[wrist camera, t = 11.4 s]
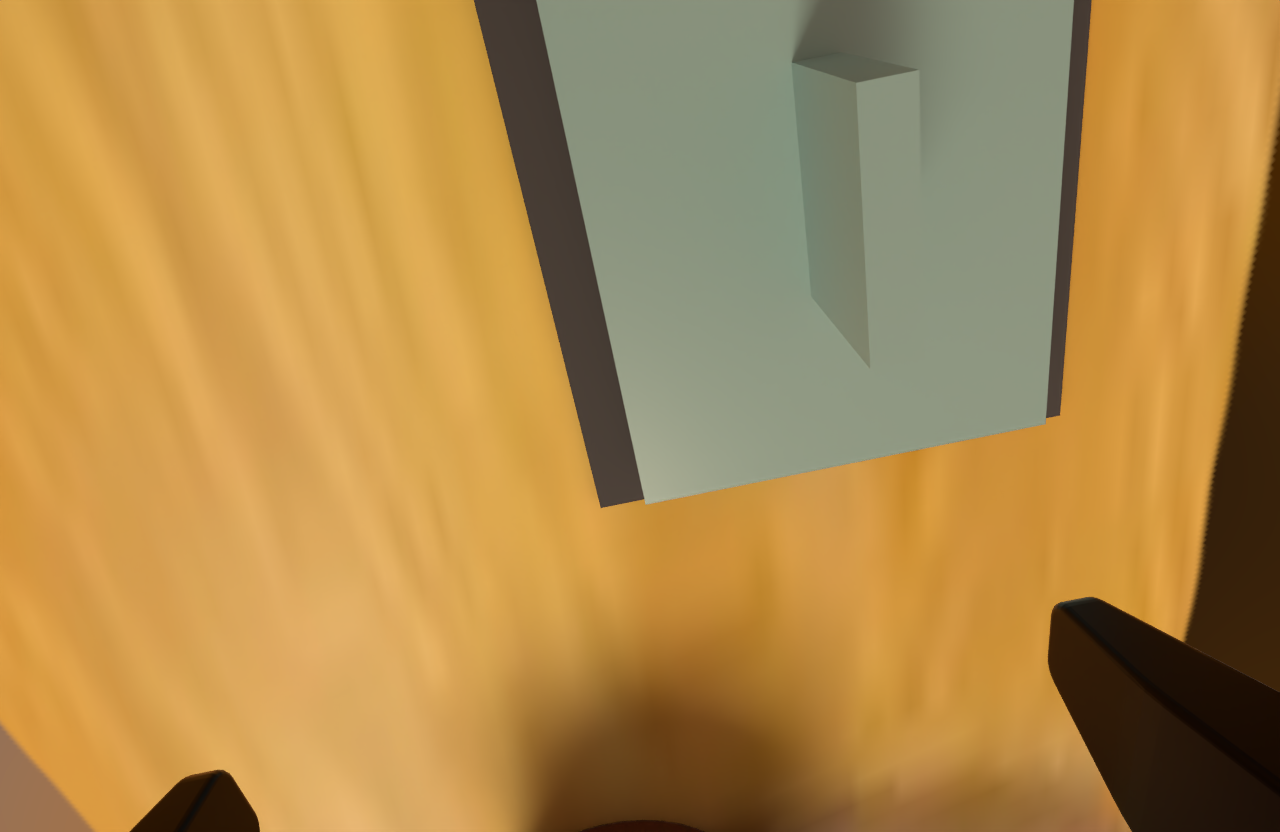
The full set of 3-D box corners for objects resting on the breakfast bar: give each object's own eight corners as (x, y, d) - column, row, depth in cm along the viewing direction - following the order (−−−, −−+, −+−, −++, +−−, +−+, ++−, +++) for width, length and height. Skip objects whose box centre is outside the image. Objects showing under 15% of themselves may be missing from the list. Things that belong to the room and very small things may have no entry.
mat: (1052, 408, 23) (1059, 415, 22) (600, 500, 23) (600, 507, 23) (1104, -328, 15) (1117, -336, 15) (429, -187, 15) (426, -190, 15)
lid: (1014, 396, 22) (1145, 513, 17) (640, 471, 22) (663, 610, 17) (1044, -273, 15) (1276, -399, 10) (503, -160, 15) (477, -231, 10)
